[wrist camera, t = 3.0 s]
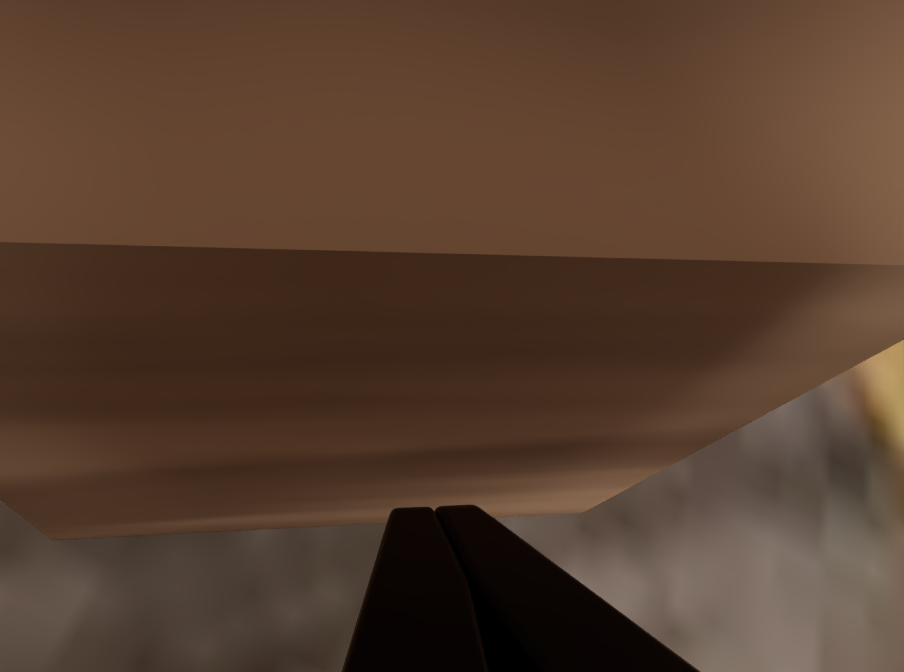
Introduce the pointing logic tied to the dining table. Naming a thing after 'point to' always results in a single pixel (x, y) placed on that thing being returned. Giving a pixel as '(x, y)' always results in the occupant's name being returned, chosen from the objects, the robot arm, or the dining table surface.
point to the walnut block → (426, 247)
